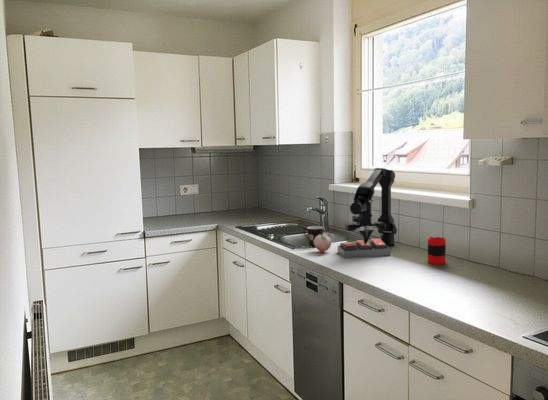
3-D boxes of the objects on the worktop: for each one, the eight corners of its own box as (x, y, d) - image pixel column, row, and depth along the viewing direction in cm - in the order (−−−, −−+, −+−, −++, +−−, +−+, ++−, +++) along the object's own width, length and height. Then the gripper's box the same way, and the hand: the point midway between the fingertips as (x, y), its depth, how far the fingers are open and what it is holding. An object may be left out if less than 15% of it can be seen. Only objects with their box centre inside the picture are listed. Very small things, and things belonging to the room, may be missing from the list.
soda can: (430, 264, 208) (430, 238, 206) (425, 260, 215) (425, 235, 214) (447, 264, 208) (448, 238, 206) (442, 260, 215) (442, 234, 213)
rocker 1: (350, 245, 233) (350, 242, 233) (355, 245, 225) (355, 243, 226) (342, 245, 233) (341, 242, 233) (346, 246, 225) (346, 243, 225)
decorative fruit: (334, 253, 234) (334, 233, 232) (320, 255, 230) (320, 235, 229) (325, 249, 242) (324, 230, 241) (311, 251, 239) (310, 232, 237)
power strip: (381, 249, 238) (381, 240, 237) (390, 255, 226) (390, 245, 226) (337, 252, 235) (337, 242, 235) (344, 258, 223) (344, 248, 223)
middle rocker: (365, 242, 234) (365, 239, 234) (370, 247, 227) (370, 244, 226) (356, 242, 234) (356, 240, 233) (361, 247, 226) (361, 245, 226)
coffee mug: (326, 246, 248) (326, 228, 247) (311, 248, 245) (311, 229, 244) (316, 242, 259) (316, 224, 257) (302, 244, 256) (302, 226, 254)
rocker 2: (379, 240, 235) (379, 238, 235) (385, 246, 228) (385, 244, 227) (371, 241, 235) (371, 238, 234) (376, 247, 227) (376, 244, 227)
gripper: (378, 208, 234) (378, 239, 236) (341, 210, 232) (342, 241, 234) (386, 211, 223) (386, 244, 225) (348, 213, 221) (348, 246, 223)
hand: (365, 243), depth 227 cm, fingers closed
